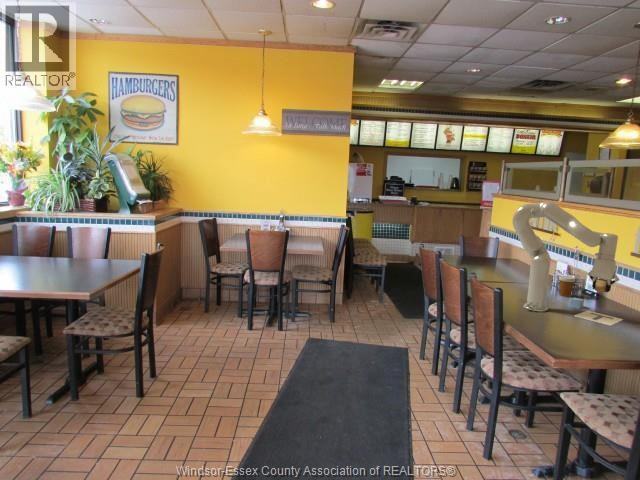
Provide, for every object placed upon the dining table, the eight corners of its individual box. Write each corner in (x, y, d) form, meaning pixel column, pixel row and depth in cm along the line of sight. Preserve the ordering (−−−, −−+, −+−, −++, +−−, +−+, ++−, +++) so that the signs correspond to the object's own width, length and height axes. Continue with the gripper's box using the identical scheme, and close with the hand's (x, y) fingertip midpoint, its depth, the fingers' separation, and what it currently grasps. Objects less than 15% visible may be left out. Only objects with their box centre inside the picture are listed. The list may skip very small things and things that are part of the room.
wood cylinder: (604, 292, 235) (606, 281, 234) (592, 290, 239) (594, 279, 238) (608, 291, 238) (610, 280, 237) (597, 288, 243) (598, 278, 242)
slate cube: (579, 309, 257) (580, 300, 256) (569, 307, 261) (571, 298, 260) (582, 307, 260) (583, 299, 260) (573, 305, 264) (574, 297, 263)
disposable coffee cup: (567, 298, 280) (569, 279, 278) (553, 294, 289) (555, 276, 287) (576, 296, 285) (579, 278, 283) (562, 292, 293) (565, 274, 291)
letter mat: (610, 326, 228) (610, 325, 228) (573, 316, 242) (573, 315, 242) (623, 320, 239) (623, 319, 239) (587, 311, 253) (587, 310, 253)
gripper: (585, 254, 240) (580, 287, 243) (622, 260, 227) (616, 295, 230) (591, 253, 245) (586, 285, 248) (627, 259, 232) (621, 293, 234)
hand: (600, 290), depth 239 cm, fingers closed on wood cylinder, 5 cm apart
